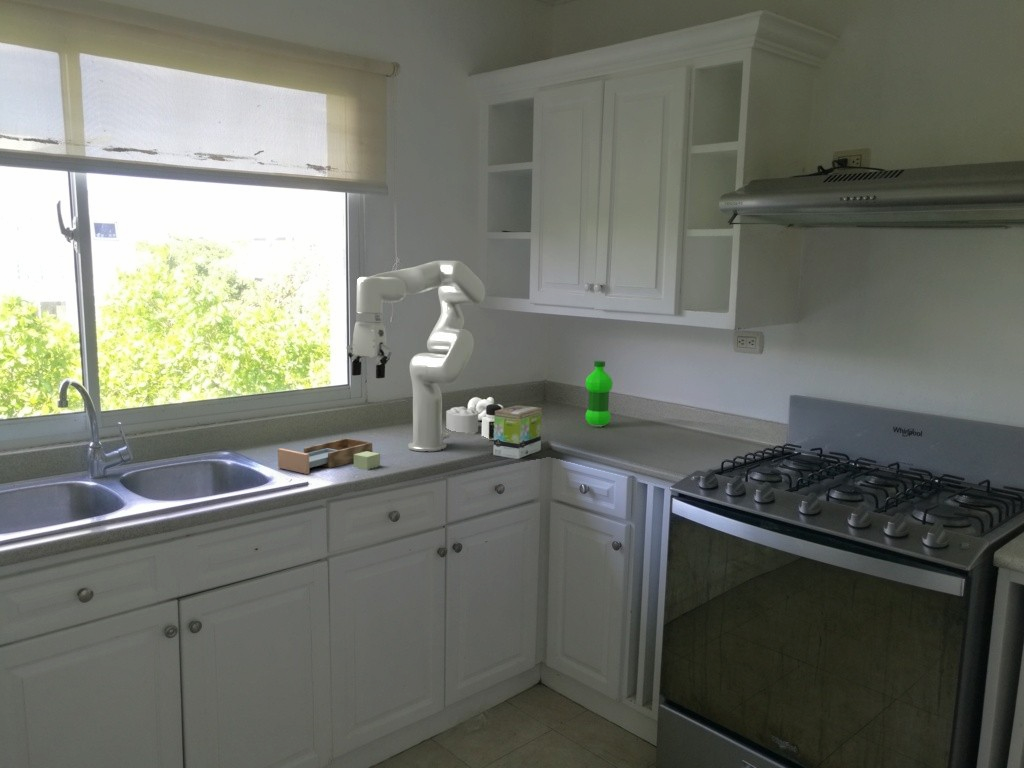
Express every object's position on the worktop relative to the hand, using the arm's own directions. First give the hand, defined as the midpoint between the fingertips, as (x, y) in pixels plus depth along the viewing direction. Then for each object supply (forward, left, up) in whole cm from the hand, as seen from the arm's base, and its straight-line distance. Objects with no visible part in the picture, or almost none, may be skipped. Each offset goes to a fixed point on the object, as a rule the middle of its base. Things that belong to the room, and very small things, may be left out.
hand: (368, 376), depth 236 cm
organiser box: (+1, -12, -27) cm, 30 cm away
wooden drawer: (+10, -12, -27) cm, 31 cm away
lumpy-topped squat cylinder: (-57, -8, -27) cm, 64 cm away
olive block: (+2, +1, -27) cm, 27 cm away
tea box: (-40, +27, -27) cm, 56 cm away
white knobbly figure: (-78, -15, -27) cm, 84 cm away
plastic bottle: (-96, +27, -27) cm, 104 cm away
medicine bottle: (-54, +8, -27) cm, 61 cm away
